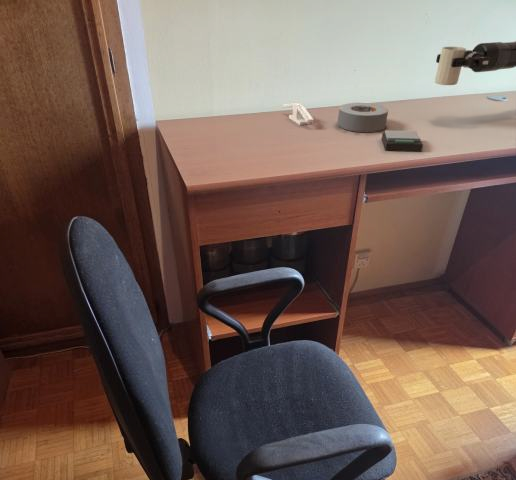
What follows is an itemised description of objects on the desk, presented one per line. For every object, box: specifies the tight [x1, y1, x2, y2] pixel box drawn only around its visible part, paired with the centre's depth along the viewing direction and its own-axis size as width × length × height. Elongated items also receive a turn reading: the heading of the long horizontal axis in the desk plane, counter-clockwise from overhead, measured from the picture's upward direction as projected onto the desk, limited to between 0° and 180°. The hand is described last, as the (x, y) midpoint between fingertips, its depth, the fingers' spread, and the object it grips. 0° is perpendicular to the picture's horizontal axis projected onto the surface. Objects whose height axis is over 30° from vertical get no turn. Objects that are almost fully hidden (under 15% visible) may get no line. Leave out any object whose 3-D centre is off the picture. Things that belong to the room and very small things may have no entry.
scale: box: [381, 129, 424, 153], centre depth 129 cm, size 10×10×3 cm
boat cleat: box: [282, 102, 315, 126], centre depth 148 cm, size 4×20×5 cm, turn 20°
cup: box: [434, 46, 467, 86], centre depth 136 cm, size 7×7×9 cm
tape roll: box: [337, 102, 389, 133], centre depth 144 cm, size 15×15×5 cm
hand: (444, 60), depth 134 cm, fingers closed on cup, 6 cm apart
